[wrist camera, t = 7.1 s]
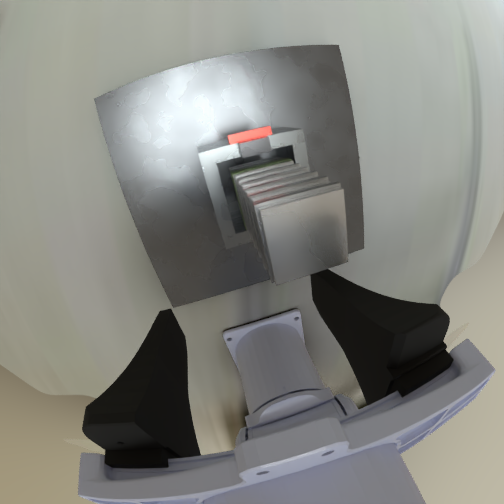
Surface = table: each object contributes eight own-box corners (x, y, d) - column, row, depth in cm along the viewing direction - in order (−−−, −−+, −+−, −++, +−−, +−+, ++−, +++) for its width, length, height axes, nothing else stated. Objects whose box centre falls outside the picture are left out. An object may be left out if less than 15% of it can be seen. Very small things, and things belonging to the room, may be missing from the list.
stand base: (358, 243, 25) (392, 273, 20) (173, 300, 24) (171, 345, 19) (332, 47, 16) (372, 32, 11) (98, 99, 15) (66, 94, 10)
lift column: (287, 201, 17) (350, 263, 10) (239, 214, 17) (274, 289, 10) (277, 153, 16) (346, 184, 9) (226, 166, 16) (255, 208, 9)
